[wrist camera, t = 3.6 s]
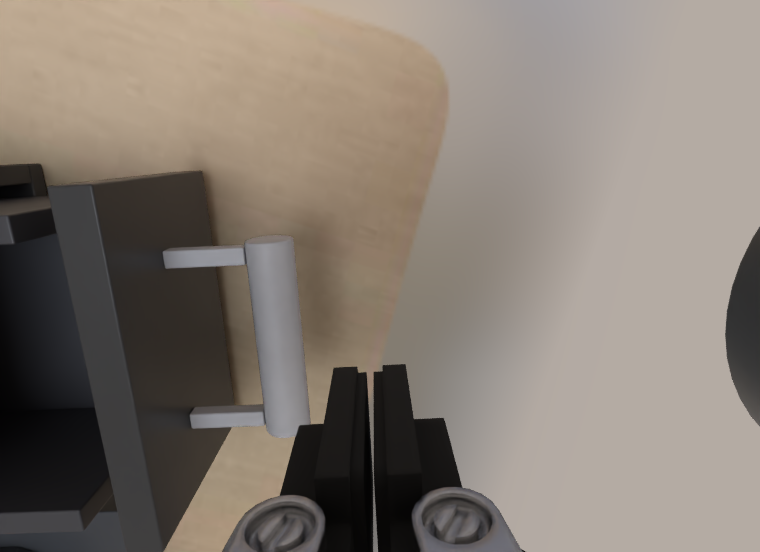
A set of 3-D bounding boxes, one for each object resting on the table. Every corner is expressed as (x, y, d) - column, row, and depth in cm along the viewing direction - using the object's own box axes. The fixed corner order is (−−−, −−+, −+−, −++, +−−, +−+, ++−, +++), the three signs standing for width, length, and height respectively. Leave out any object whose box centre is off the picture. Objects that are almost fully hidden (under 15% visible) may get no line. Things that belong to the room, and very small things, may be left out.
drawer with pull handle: (307, 165, 20) (260, 175, 12) (328, 415, 23) (300, 548, 15) (-120, 186, 20) (-422, 208, 13) (-46, 429, 23) (-256, 566, 15)
